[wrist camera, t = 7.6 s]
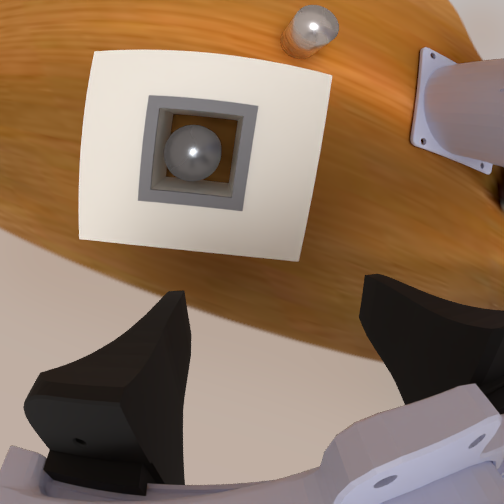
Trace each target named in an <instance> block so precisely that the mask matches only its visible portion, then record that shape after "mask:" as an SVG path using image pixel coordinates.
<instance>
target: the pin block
mask: <svg viewBox="0 0 504 504" xmlns="http://www.w3.org/2000/svg"><path fill="white" fill-rule="evenodd" d="M331 81H332V75H329V74H325V73H321V72H317V71H313V70H309V69H305V68H300V67H296V66H291V65H286V64H281V63H276V62H270V61H265V60H259V59H253V58H246V57H239V56H231V55H223V54H214V53H203V52H190V51H173V50H113V51H95V52H94V56H93V61H92V67H91V72H90V78H89V84H88V90H87V97H86V104H85V112H84V120H83V130H82V140H81V154H80V172H79V239H84V240H94V241H103V242H112V243H122V244H131V245H141V246H150V247H160V248H170V249H179V250H189V251H199V252H208V253H218V254H228V255H238V256H248V257H258V258H268V259H278V260H288V261H298V262H299V257H300V253H301V248H302V243H303V239H304V234H305V229H306V224H307V219H308V214H309V209H310V204H311V199H312V194H313V188H314V183H315V178H316V172H317V167H318V161H319V156H320V150H321V144H322V138H323V132H324V126H325V120H326V114H327V108H328V101H329V95H330V88H331ZM173 114H181V115H193V116H203V117H213V118H222V119H230V120H237V121H238V123H237V130H236V137H235V143H234V150H233V157H232V164H231V171H230V178H229V183H223V182H215V181H206V180H199V181H191V182H190V181H184V180H181V179H179V178H175V177H166V171H167V166H166V163H165V160H164V148H165V144H166V142H167V140H168V138H169V137H170V135H171V128H172V120H173Z"/></svg>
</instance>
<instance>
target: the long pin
mask: <svg viewBox="0 0 504 504" xmlns="http://www.w3.org/2000/svg"><path fill="white" fill-rule="evenodd" d="M220 159H221V142H220V139H219V137H218V136H217V135H216V134H215V133H214V132H213V131H211V130H209V129H207V128H205V127H203V126H199V125H187V126H184V127H181V128H179V129H178V130H176V131H175V132H173V133H172V135H171V136H170V137H169V138H168V140H167V142H166V144H165V148H164V160H165V163H166V166H167V168H168V169H169V171H170V172H171V173H172V174H173V175H174V176H176V177H177V178H179V179H181V180H184V181H190V182H191V181H199V180H202V179H205V178H207V177H208V176H210V175H211V174H212V173H213V172H214V171H215V170H216V168H217V166H218V165H219V162H220Z"/></svg>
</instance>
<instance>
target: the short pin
mask: <svg viewBox="0 0 504 504" xmlns="http://www.w3.org/2000/svg"><path fill="white" fill-rule="evenodd" d="M338 31H339V24H338V21H337V19H336V17H335V16H334V15H333V13H331V12H330V11H329V10H328V9H326V8H324V7H321V6H318V5H308V6H305V7H303V8H301V9H300V10H299V11H298V12H297V14H296V15H295V16H294V18H293V19H292V21H291V22H290V23H289V25H288V26H287V28H286V29H285V31H284V32H283V34H282V36H281V40H280V41H281V46H282V48H283V50H284V51H285V52H286V53H287V54H288V55H290V56H291V57H294V58H297V59H305V58H308V57H310V56H312V55H313V54H314V53H316V52H317V51H318V50H320V49H321V48H322V47H324V46H325V45H326V44H328V43H329V42H330V41H332V40H333V39H334V38H335V37H336V36H337V34H338Z"/></svg>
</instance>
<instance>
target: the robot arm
mask: <svg viewBox="0 0 504 504" xmlns="http://www.w3.org/2000/svg"><path fill="white" fill-rule="evenodd" d="M431 55H432V56H433V58H432V57H431ZM421 139H423V144H421ZM410 140H411V143H412V144H413V145H414V146H416V147H419V148H422V149H425V150H428V151H430V152H433V153H436V154H439V155H441V156H444V157H446V158H449V159H452V160H454V161H457V162H459V163H461V164H464V165H466V166H469V167H471V168H473V169H476V170H478V171H480V172H482V173H485V174H490V173H491V171H492V165H493V164H494V165H498V166H502V167H504V59H493V60H484V61H476V62H469V63H462V64H457V63H455V62H453V61H452V60H450V59H448V58H446V57H445V56H443V55H441V54H439V53H437V52H435V51H433V50H431V49H429V48H427V47H425V48H422V49H421V51H420V63H419V75H418V85H417V94H416V102H415V110H414V117H413V124H412V131H411V137H410ZM480 165H481V167H480ZM359 319H360V321H361V323H362V326H363V328H364V330H365V332H366V335H367V337H368V338H369V340H370V341H371V343H372V345H373V346H374V348H375V349H376V351H377V353H378V354H379V356H380V357H381V359H382V360H383V362H384V364H385V365H386V367H387V368H388V370H389V371H390V373H391V375H392V377H393V379H394V380H395V382H396V385H397V387H398V389H399V391H400V394H401V396H402V398H403V401H404V403H405V405H404V406H401V407H398V408H394V409H391V410H387V411H384V412H380V413H377V414H374V415H372V416H370V417H367V418H364V419H362V420H360V421H357V422H355V423H353V424H352V425H350V426H349V427H348V428H346V429H345V430H343V431H342V432H340V433H339V434H337V435H336V436H335V438H334V439H333V441H332V442H331V443H330V445H329V446H328V448H327V449H326V451H325V452H324V455H323V459H322V462H321V465H320V466H319V467H316V468H313V469H310V470H307V471H304V472H301V473H298V474H294V475H291V476H288V477H285V478H280V479H277V480H270V481H261V482H251V483H239V484H222V485H185V480H184V463H183V405H184V396H185V390H186V383H187V377H188V370H189V363H190V357H191V330H190V324H189V318H188V312H187V306H186V299H185V293H184V291H169V292H168V293H166V294H165V295H164V296H163V297H162V299H161V300H160V301H159V302H158V303H157V304H156V305H155V306H154V307H153V308H152V309H151V310H150V311H149V312H148V313H147V314H146V315H145V316H144V317H143V318H141V319H140V320H139V321H138V322H137V323H136V324H135V325H134V326H132V327H131V328H130V329H129V330H128V331H126V332H125V333H124V334H122V335H121V336H120V337H118V338H117V339H116V340H114V341H112V342H111V343H109V344H108V345H106V346H104V347H103V348H101V349H99V350H97V351H95V352H94V353H92V354H90V355H88V356H86V357H83V358H81V359H79V360H77V361H74V362H72V363H69V364H67V365H64V366H61V367H58V368H54V369H51V370H48V371H45V372H41V373H40V375H39V376H38V378H37V379H36V381H35V383H34V385H33V387H32V389H31V390H30V393H29V394H28V396H27V398H26V400H25V402H24V411H25V415H26V417H27V419H28V421H29V423H30V424H31V426H32V427H33V428H34V430H35V431H36V433H37V434H38V435H39V437H40V438H41V439H42V440H43V442H44V443H45V444H46V446H47V447H48V448H49V449H50V451H49V454H48V457H47V458H46V457H44V456H43V455H41V454H39V453H36V452H33V451H30V450H26V449H23V448H19V447H16V446H10V448H9V451H8V453H7V455H6V458H5V460H4V463H3V465H2V467H1V470H0V504H504V311H500V310H490V309H482V308H477V307H472V306H467V305H462V304H458V303H455V302H452V301H448V300H445V299H442V298H439V297H436V296H434V295H431V294H428V293H426V292H423V291H421V290H418V289H416V288H414V287H411V286H409V285H406V284H404V283H402V282H399V281H397V280H395V279H392V278H390V277H387V276H384V275H381V274H372V275H365V279H364V287H363V294H362V301H361V308H360V314H359Z"/></svg>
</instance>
